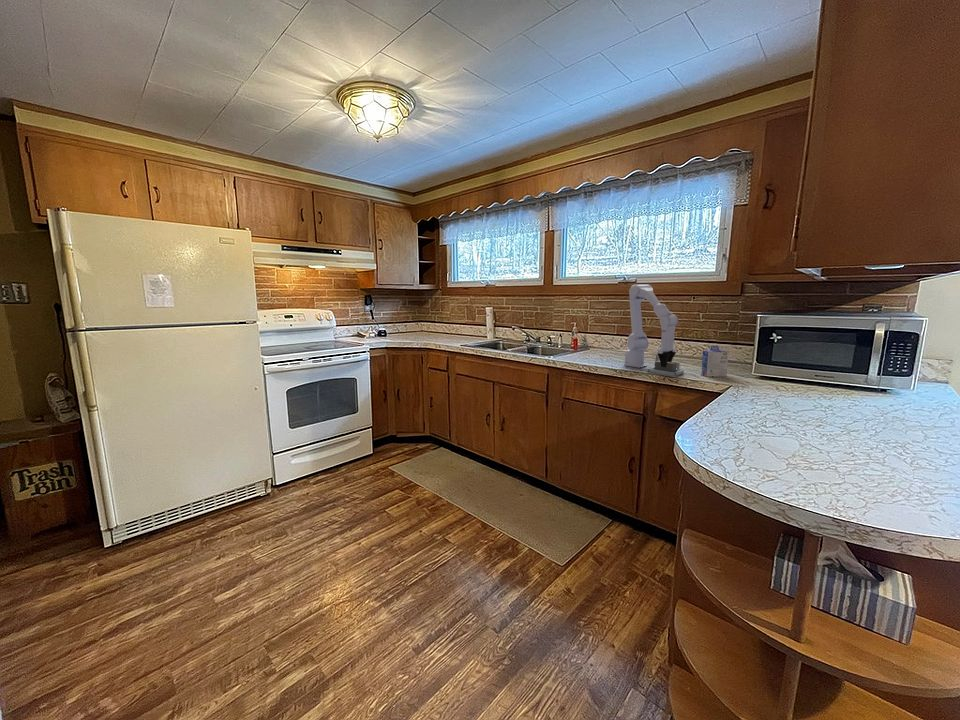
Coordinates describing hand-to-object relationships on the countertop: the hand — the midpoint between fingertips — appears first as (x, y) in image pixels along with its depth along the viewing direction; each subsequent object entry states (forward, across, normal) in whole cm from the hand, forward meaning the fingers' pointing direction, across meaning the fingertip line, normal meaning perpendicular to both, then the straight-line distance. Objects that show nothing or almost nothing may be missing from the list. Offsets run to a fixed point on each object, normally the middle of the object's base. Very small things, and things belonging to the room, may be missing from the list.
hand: (665, 366), depth 194 cm
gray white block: (+3, 0, 0) cm, 3 cm away
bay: (+3, +12, +4) cm, 13 cm away
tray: (+3, 0, 0) cm, 3 cm away
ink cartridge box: (+4, +12, -18) cm, 22 cm away
